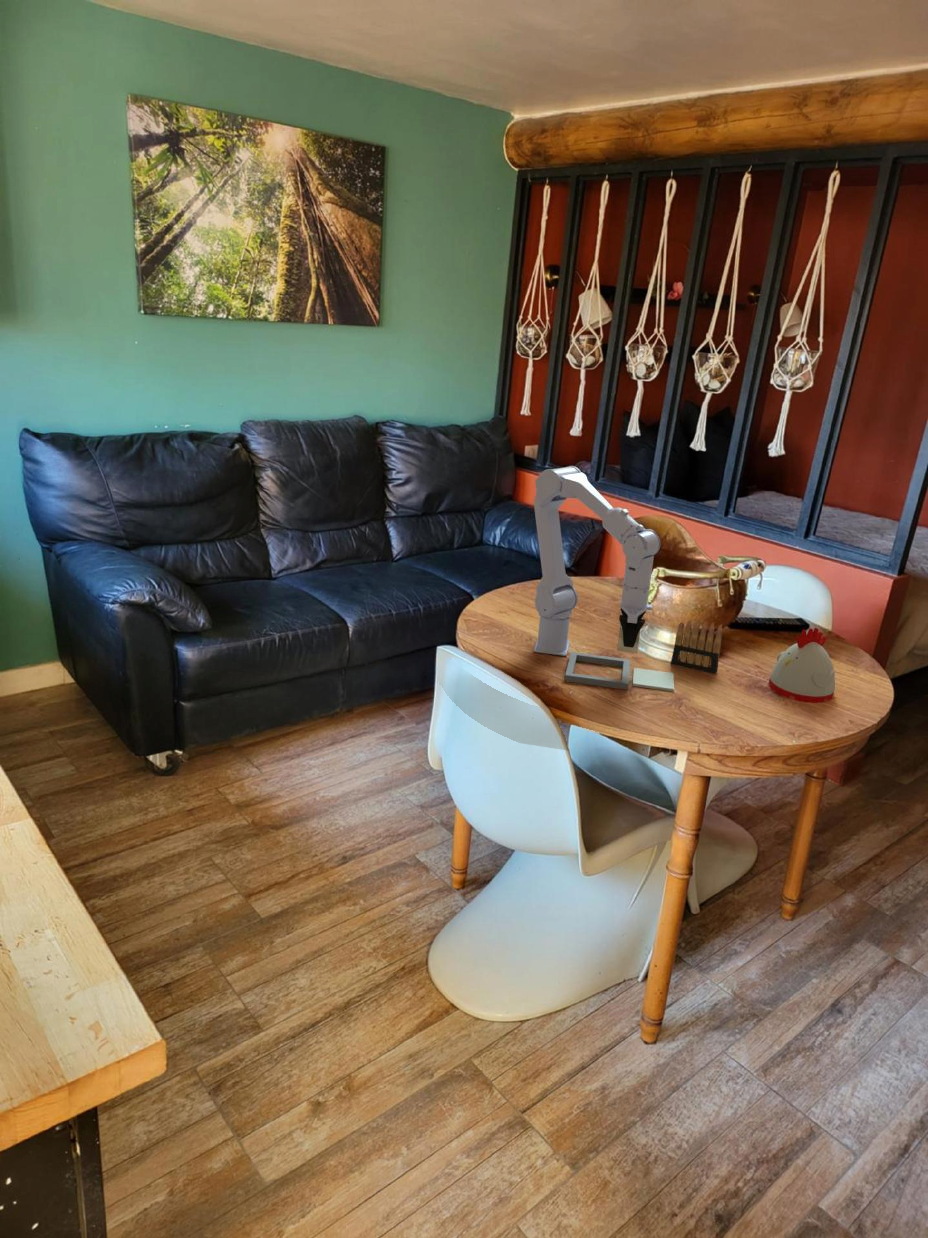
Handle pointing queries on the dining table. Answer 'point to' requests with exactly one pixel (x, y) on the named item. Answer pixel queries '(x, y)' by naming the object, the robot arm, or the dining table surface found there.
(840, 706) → the dining table surface
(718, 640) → the ammunition clip
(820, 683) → the kitchen timer
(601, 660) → the frame
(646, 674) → the green pad
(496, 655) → the dining table surface
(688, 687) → the dining table surface
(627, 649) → the maple block
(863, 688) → the dining table surface
